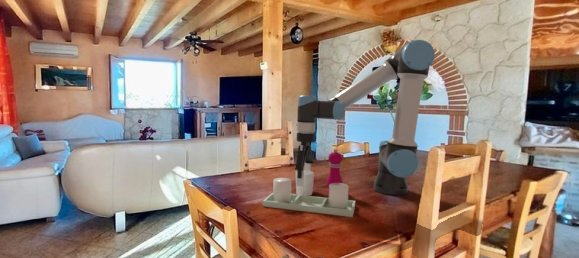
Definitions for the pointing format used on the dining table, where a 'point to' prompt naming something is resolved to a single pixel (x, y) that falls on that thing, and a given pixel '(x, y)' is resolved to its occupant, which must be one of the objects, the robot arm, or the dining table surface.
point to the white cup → (306, 183)
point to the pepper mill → (334, 168)
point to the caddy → (310, 205)
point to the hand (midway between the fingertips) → (303, 181)
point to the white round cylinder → (338, 196)
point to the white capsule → (282, 190)
